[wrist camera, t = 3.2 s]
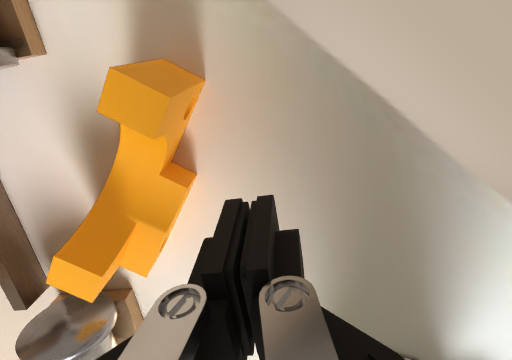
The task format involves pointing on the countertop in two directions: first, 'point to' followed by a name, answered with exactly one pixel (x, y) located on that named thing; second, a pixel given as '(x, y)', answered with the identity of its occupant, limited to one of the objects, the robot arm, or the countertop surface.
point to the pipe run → (27, 266)
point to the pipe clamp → (133, 178)
